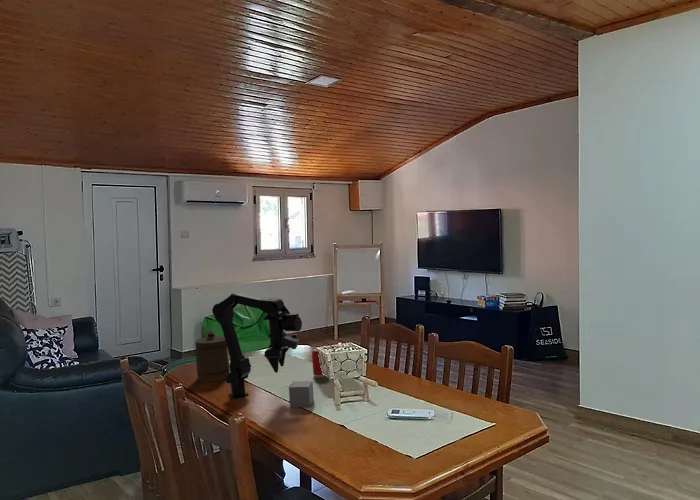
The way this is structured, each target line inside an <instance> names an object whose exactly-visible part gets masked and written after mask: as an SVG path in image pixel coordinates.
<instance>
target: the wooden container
mask: <svg viewBox="0 0 700 500" xmlns="http://www.w3.org/2000/svg"><path fill="white" fill-rule="evenodd" d="M206 335H207V336H206V337H202V338H199V339H196V340H195V355H196V356H195V357H196V358H195V359H196V374H197V376H196V377H197V381H199V380H200V381H199V382H202V381H214V382H219V381H224V380H226V379H225V378H226V377H227V376H228V375H229V373H230V367H229V366H230V355H229V351H228V347H227V344H226V341H225V337H224V335H223V336H222V335H220V336H219V335H216V332H214V331H213V330H210V331H208V332H207V333H206ZM215 335H216V336H215Z"/></svg>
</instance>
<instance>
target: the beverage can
mask: <svg viewBox="0 0 700 500" xmlns="http://www.w3.org/2000/svg"><path fill="white" fill-rule="evenodd" d="M311 358H312V359H311V360H312V373H313V375H314V376H315V377H317V378H321V377H322V378H323V377H325V376H324V375H323V374H322V371H321V368H320V362H319V357H318V351H317V348H314V349H313V350H312V352H311Z"/></svg>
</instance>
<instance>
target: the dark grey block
mask: <svg viewBox="0 0 700 500" xmlns="http://www.w3.org/2000/svg"><path fill="white" fill-rule="evenodd" d="M313 382H314V381H313V380H303V381H302V380H301V381H299V380H297V381H295V380H294V381H292V383H291V384H290V385H289V386H288V394H289V407H290V408H310V407H311V406H312V405H313V403H314V401H315V397H314V383H313Z"/></svg>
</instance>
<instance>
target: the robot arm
mask: <svg viewBox="0 0 700 500" xmlns="http://www.w3.org/2000/svg"><path fill="white" fill-rule="evenodd" d="M238 305H241V306H245V307H250V308H254V309H259V310H261V311H262V312H263V313H264V314H266V316H264V318H263V320H264V321H268V329H269V330H268V331H269V333H268V334H267V336H268V338H269V341H270V342H269V343H270V344H269V345H268V347H267V348H266V350H265V351H264V353H263V355H264V357H265V359H266V360H267V361H268V363H269V365H270V366H271V368H272V369H273V372H274V373H278V372H279V365H280V367H284V365H285V359H286V354H287V352H288V351H289V350H290V349H292V350H297V348H298V345H299V343H300V339H299V338H298V334H294V333H293V334H292V335H287V333H286V332H300V331H301V330H302V326H303V321H302V319H301V317H300V316H299V313H290V311H289V310H288V308H287V307H286V305H285V303H284V301H283V299H281V298H261V297H258V296H253V295H249V294H243V293H241V292H234V293H231V294H230V295H229V296H228V297H226V298H224V300H222V301H220V302H218V303H216V304H214V305H213V307H212V309H211V310H212V315H213V317H214V319H215V321H216V322H217V323H218V324H219V325H220V327H221V330H222V333H223V336H224V337H225V341H226V344H227V347H228V355H229V368H230V373H229V375H228V376H227V377H226V378H225V379H224V380H225V382H226V384H230V392H231V393H228V394H227V395H228V396H229V397H230V398H233V399H238V398H241V397H246V396H248V395H250V394H249V392H246V386H245V385H246V383H245V379H249V374H250V373H251V370H252V364H251V362H250V358H249V357H245V355H243V353H242V349H241V346H240V343H239V339H238V336H237V331H236V329H235V326H234V325H235V324H234V321H233V320H234V314H235V311H234V309H235V308H236V307H237V306H238Z"/></svg>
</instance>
